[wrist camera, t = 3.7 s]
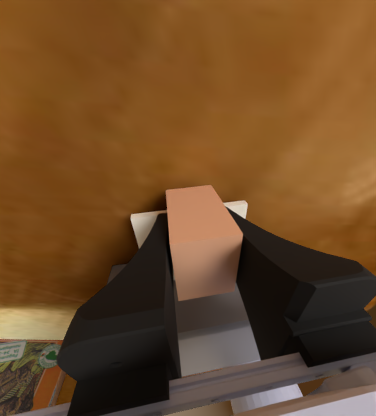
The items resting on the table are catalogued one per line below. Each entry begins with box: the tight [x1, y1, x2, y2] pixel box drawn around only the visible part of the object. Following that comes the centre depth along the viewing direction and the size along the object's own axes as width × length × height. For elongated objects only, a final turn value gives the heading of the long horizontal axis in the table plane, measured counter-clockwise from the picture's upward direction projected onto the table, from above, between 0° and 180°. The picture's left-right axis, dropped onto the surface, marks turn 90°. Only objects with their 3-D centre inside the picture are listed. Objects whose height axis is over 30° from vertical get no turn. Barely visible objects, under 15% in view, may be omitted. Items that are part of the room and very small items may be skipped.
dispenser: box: [107, 264, 261, 377], centre depth 15 cm, size 9×14×6 cm, turn 93°
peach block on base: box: [130, 185, 248, 301], centre depth 12 cm, size 14×8×5 cm, turn 3°
